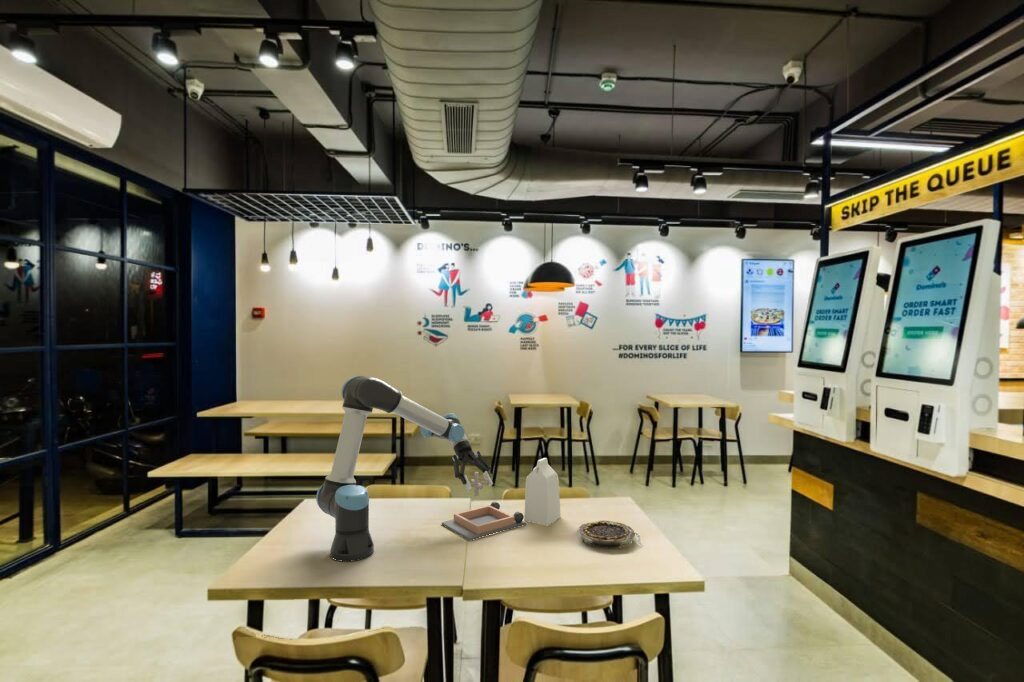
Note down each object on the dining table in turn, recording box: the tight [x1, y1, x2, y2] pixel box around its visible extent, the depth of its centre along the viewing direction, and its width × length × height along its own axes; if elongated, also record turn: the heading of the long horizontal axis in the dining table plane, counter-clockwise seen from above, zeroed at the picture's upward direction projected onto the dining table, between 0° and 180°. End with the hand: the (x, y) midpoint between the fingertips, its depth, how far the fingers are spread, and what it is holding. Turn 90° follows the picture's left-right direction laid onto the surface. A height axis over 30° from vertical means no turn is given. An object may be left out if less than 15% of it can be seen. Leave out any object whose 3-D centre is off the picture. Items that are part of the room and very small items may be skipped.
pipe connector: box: [464, 471, 488, 497], centre depth 216 cm, size 10×10×10 cm
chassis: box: [441, 501, 527, 541], centre depth 212 cm, size 28×22×5 cm
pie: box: [578, 520, 643, 549], centre depth 197 cm, size 28×27×5 cm
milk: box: [523, 457, 562, 527], centre depth 219 cm, size 12×12×26 cm
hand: (480, 487), depth 214 cm, fingers closed on pipe connector, 10 cm apart
